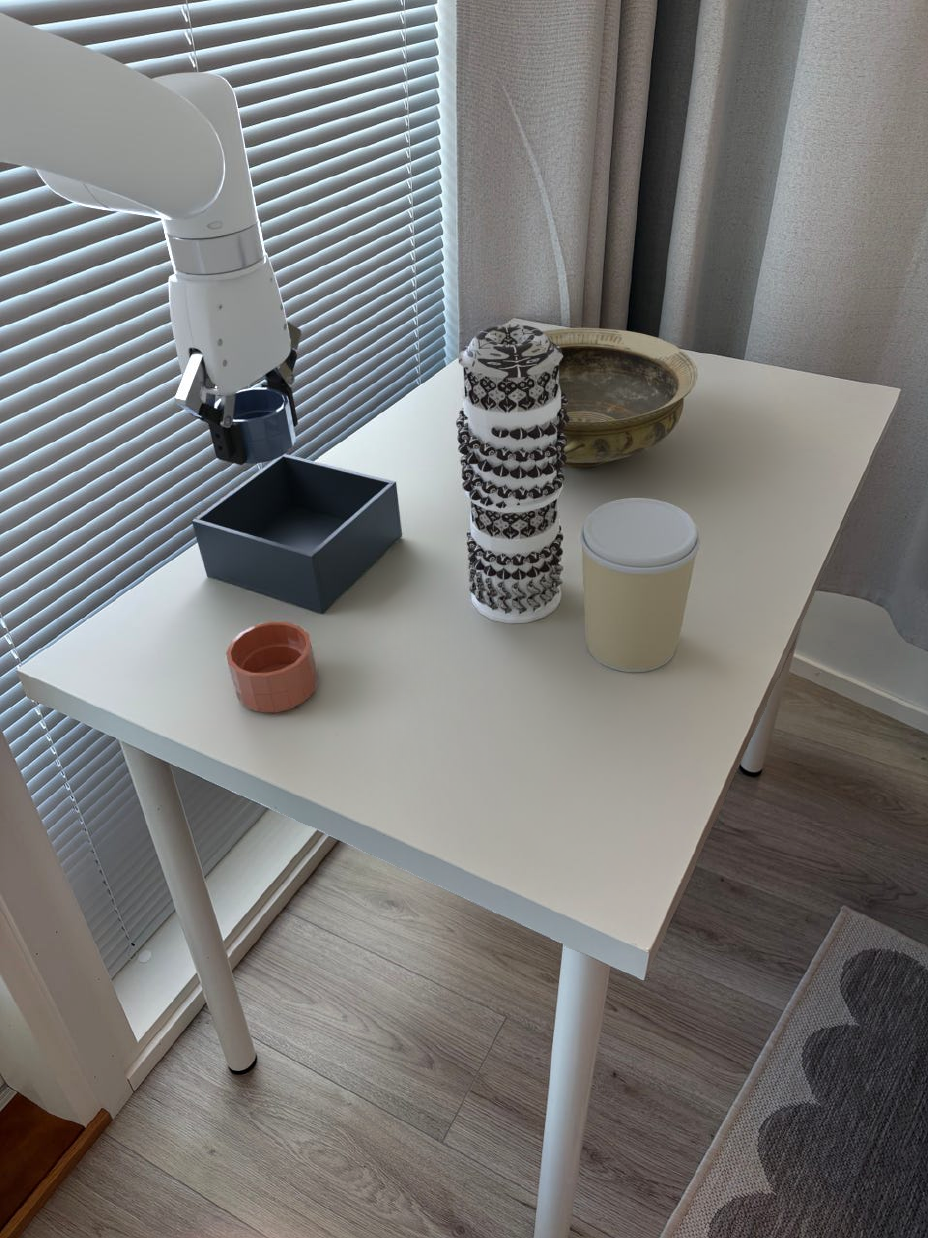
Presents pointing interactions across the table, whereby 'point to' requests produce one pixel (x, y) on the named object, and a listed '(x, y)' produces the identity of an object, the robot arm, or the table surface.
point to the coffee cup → (636, 581)
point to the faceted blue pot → (263, 423)
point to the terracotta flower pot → (272, 666)
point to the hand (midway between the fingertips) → (258, 440)
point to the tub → (299, 531)
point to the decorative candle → (513, 471)
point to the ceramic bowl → (618, 391)
